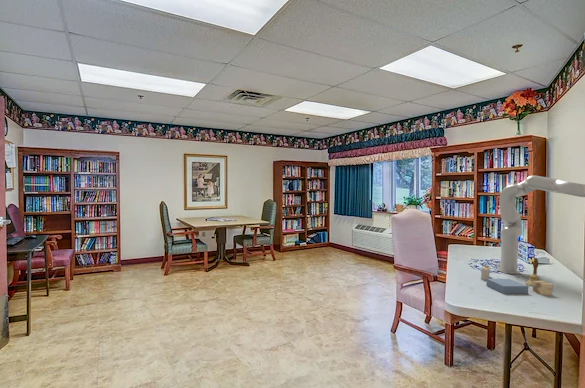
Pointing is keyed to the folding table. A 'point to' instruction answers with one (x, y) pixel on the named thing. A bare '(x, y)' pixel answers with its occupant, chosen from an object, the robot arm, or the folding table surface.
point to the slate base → (507, 286)
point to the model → (485, 272)
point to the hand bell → (534, 276)
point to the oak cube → (542, 287)
